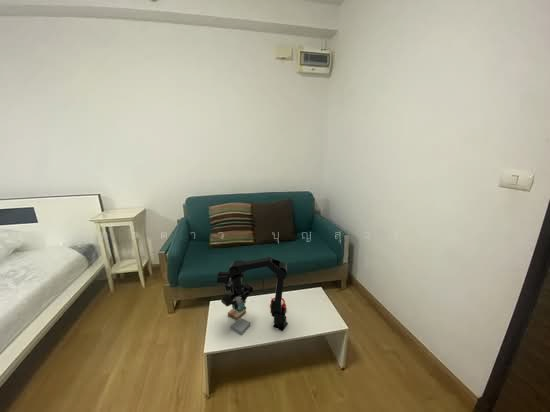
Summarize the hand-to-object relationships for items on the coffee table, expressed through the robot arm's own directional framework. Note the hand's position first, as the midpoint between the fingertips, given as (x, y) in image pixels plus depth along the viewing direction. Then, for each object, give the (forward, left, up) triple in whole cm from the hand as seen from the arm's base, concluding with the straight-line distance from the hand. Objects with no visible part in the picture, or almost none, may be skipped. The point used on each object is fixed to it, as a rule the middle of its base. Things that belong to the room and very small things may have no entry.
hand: (239, 306), depth 131 cm
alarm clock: (-12, -23, -13) cm, 29 cm away
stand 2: (-2, +1, -13) cm, 13 cm away
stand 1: (+7, -6, -13) cm, 16 cm away
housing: (0, 0, -1) cm, 1 cm away
